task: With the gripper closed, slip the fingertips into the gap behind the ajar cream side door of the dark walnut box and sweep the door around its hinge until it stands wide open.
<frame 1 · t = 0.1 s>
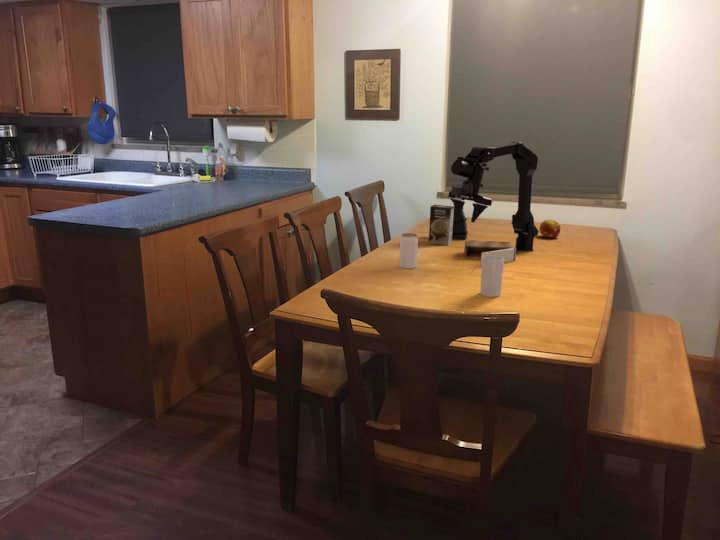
hand: (464, 220, 232), 15 cm above the table, tool pointing down, fingers open, 9 cm apart
black piece: (451, 238, 273), on the table
walnut box: (487, 255, 242), on the table
can: (408, 267, 224), on the table
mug: (490, 296, 192), on the table
coffee box: (440, 243, 264), on the table
fruit: (549, 237, 278), on the table
door: (499, 257, 230), point 3 cm above the table, hinge at 40.0°
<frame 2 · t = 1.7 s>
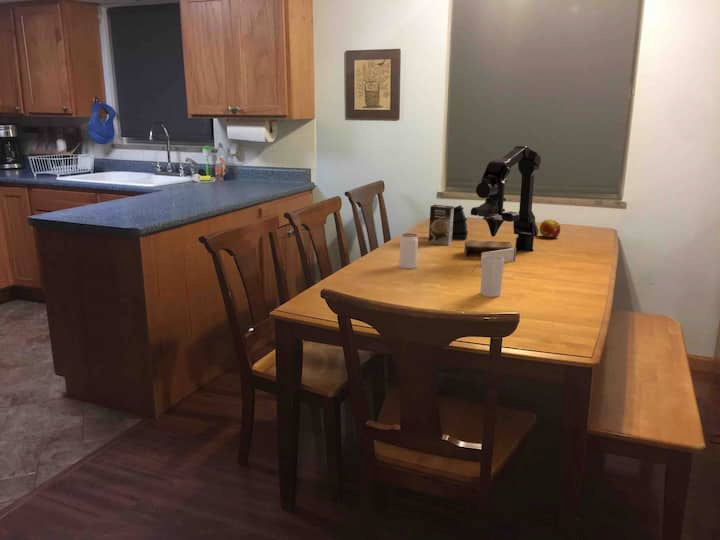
hand: (493, 236, 231), 10 cm above the table, tool pointing down, fingers closed
nothing on the table moved.
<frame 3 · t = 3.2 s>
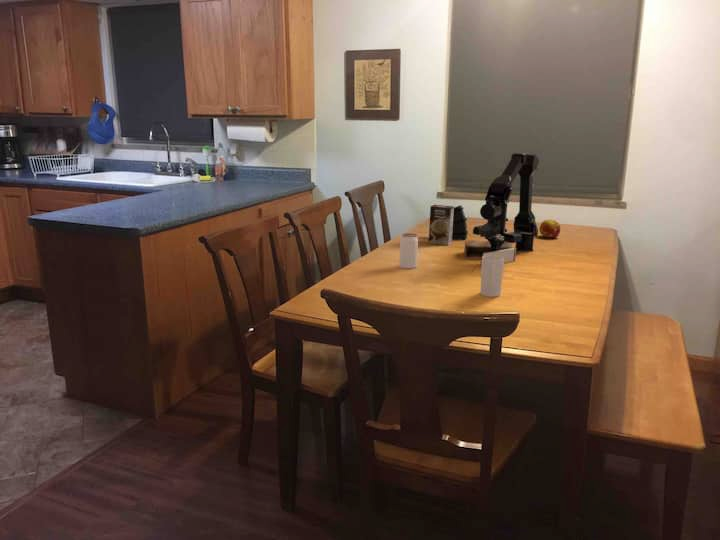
hand: (494, 256, 231), 3 cm above the table, tool pointing down, fingers closed
door: (500, 257, 230), point 3 cm above the table, hinge at 43.0°, touching gripper
everything else where it was.
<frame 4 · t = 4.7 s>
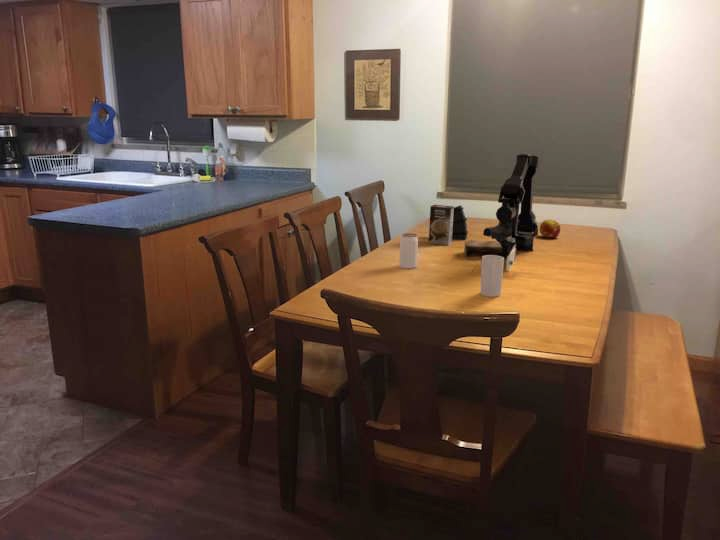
hand: (505, 258, 228), 3 cm above the table, tool pointing down, fingers closed
door: (512, 259, 227), point 3 cm above the table, hinge at 76.8°, touching gripper
everything else where it was.
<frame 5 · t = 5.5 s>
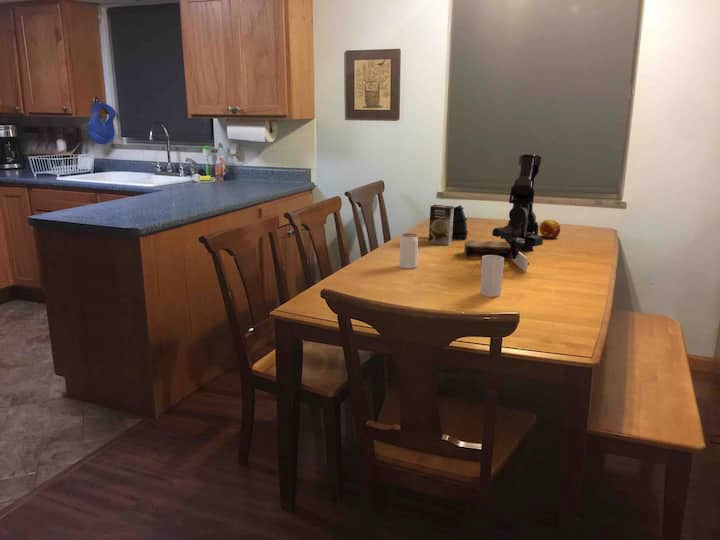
hand: (514, 258, 227), 3 cm above the table, tool pointing down, fingers closed
door: (520, 259, 227), point 2 cm above the table, hinge at 100.0°, touching gripper
everything else where it was.
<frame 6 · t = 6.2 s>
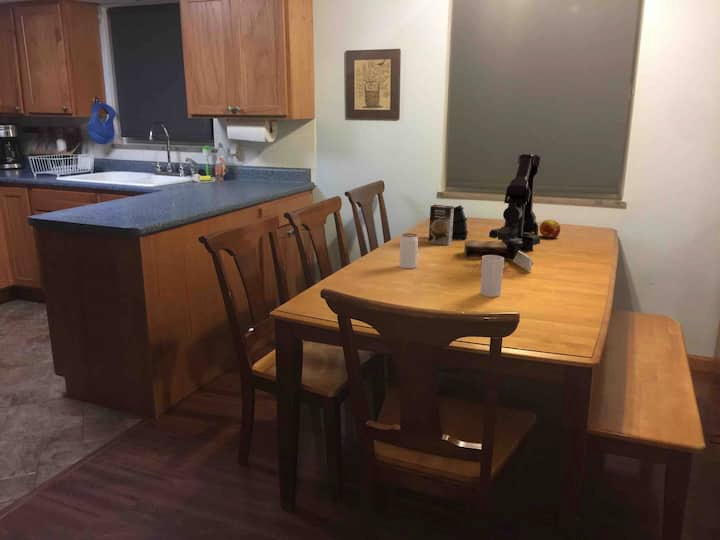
hand: (512, 259, 227), 2 cm above the table, tool pointing down, fingers closed
door: (522, 259, 227), point 3 cm above the table, hinge at 105.2°
everything else where it was.
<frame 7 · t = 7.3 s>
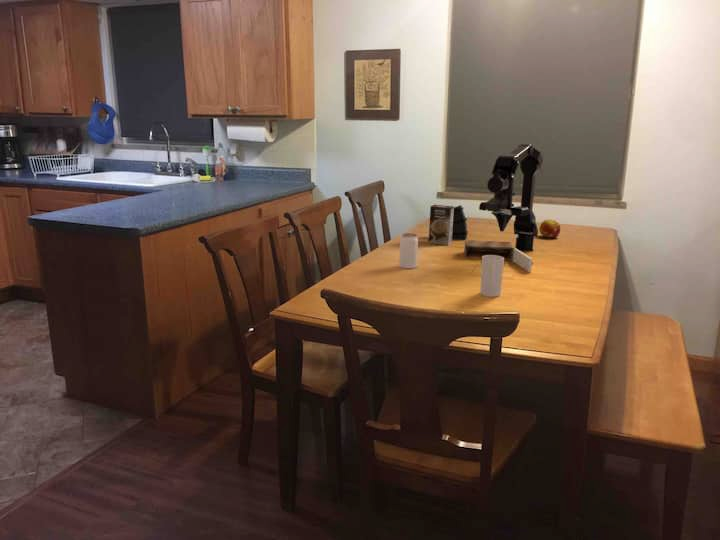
hand: (501, 231, 230), 12 cm above the table, tool pointing down, fingers closed
nothing on the table moved.
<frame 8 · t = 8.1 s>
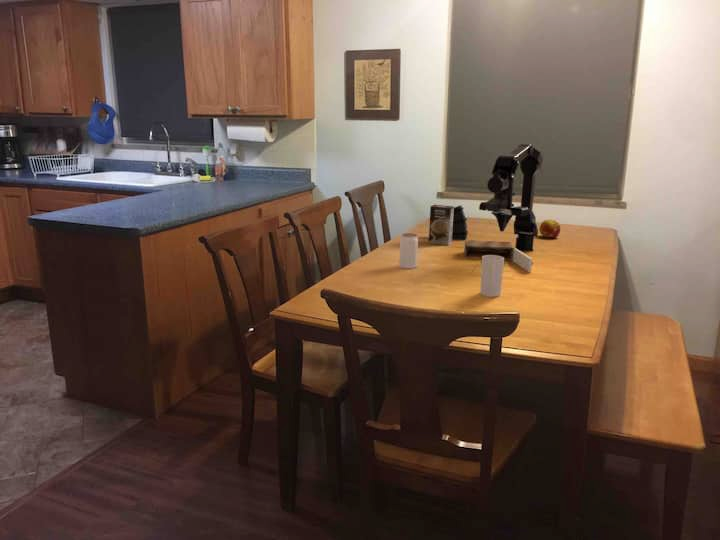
hand: (501, 231, 230), 12 cm above the table, tool pointing down, fingers closed
nothing on the table moved.
at the end: door at +105° (first picture: +40°) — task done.
